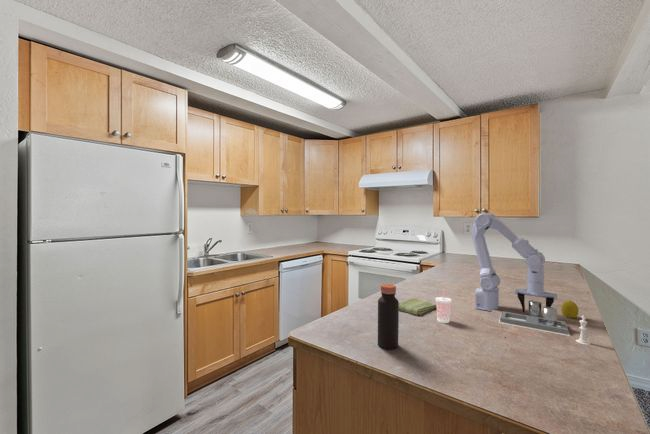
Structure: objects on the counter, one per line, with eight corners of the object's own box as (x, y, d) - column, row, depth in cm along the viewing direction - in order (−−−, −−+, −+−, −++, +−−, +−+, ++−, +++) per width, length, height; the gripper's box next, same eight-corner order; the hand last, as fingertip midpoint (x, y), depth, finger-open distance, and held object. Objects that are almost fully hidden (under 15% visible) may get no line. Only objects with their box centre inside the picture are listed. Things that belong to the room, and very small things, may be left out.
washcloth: (438, 308, 139) (438, 302, 139) (418, 317, 127) (418, 310, 127) (413, 302, 148) (413, 295, 148) (392, 310, 137) (392, 303, 136)
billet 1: (528, 318, 125) (528, 302, 125) (528, 315, 129) (528, 299, 128) (541, 321, 122) (541, 304, 122) (540, 318, 126) (541, 301, 126)
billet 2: (542, 327, 113) (543, 309, 113) (542, 323, 117) (542, 305, 117) (557, 330, 111) (557, 311, 111) (556, 326, 114) (556, 308, 114)
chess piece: (588, 342, 102) (588, 313, 102) (595, 349, 98) (596, 318, 97) (570, 340, 104) (571, 312, 104) (577, 346, 99) (578, 317, 99)
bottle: (394, 351, 95) (394, 289, 95) (374, 346, 99) (374, 286, 98) (401, 343, 101) (401, 285, 100) (381, 339, 105) (382, 282, 104)
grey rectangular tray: (498, 325, 118) (498, 318, 118) (500, 315, 129) (500, 309, 128) (570, 338, 105) (570, 331, 105) (566, 327, 116) (566, 320, 116)
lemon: (581, 322, 121) (581, 302, 121) (565, 321, 122) (566, 301, 122) (573, 317, 127) (573, 298, 127) (558, 316, 128) (558, 298, 128)
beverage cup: (453, 320, 122) (454, 286, 122) (447, 324, 118) (448, 289, 118) (438, 317, 127) (439, 284, 126) (432, 320, 122) (433, 286, 122)
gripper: (514, 280, 126) (514, 312, 126) (558, 285, 118) (557, 320, 118) (515, 277, 132) (514, 308, 132) (556, 282, 124) (556, 314, 124)
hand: (534, 313), depth 125 cm, fingers open, 7 cm apart
